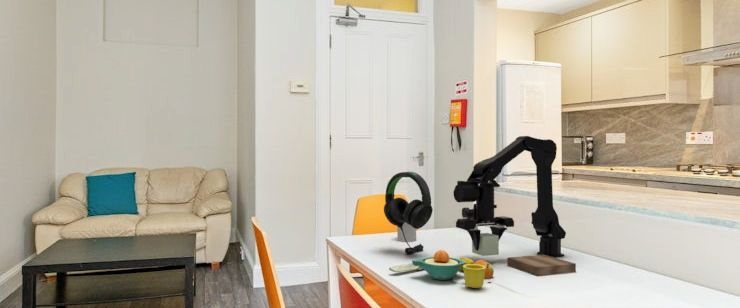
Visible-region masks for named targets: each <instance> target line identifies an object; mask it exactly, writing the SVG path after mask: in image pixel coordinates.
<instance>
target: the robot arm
mask: <svg viewBox="0 0 740 308" xmlns="http://www.w3.org/2000/svg"><path fill="white" fill-rule="evenodd" d="M557 148H558V147H557V143H556V142H555V141H554V140H552V139H541V138H536V137H532V136H529V135H522V136H520V135H518V137H516V138H515V139H514V140H513V141H512V142H510V143H509V144H508V145H506V146H505V147H504V148H503V149H501V150H500V151H498V152H497V153H496V154H495V155H493V156H492V157H489V158H486V159H483V160H480V161H478V162H477V163H475V164H474V165H473V169H472V171H471V172H470V175H469V176H468V178H467V180H457V181H456V183H457V184H456V185H455V186H454V190H453V198H454V200H455V202H457V203H473V208H472V209H470V208H469V207H462V208H461V217H462V218H458V219H457V220H456V221H455V227H456V229H457V228H458V229H461V230H464V231H466V232H467V233H468V234H469V236H470V238H471V242H472V241H473V244H474V247H475V250H478V249H479V242H480V233H481V231H482V230H480V229H479V228H478V227H483V226H484V227H485V226H486V227H487V226H489V229H490V231H491V234H494V235H497V236H499V241H500V239H501V238H502V236H503V234H504V233H505V231H507V230H508V228H513V227H515V220H514V219H513V217H509V216H504V215H503V216H495V209H497V208H498V205H497V204H495V188H500V187H501V185H500V184H499V182H497V181H496V178H497V177H498V176H499V175H500V174H501V173H502V171H503V168H504V167H505V166H506V165H507V164H509V163H510V162H511V161H512V160H514V159H515V158H516V157H518V156H519V155H520V154H522V153H523V152H525V151H527V152H529V153H530V156H531V159H532V161H533V162H534V164H535V167H536V169H535V170H536V195H537V198H536V199H537V207H536V209H535V211H534V212H533V211H532V212H531V215H530V216H531V223H530V224H532V227H533V229H534V230H535V234H536V236H537V237H539V236H540V237H539V242H538V243H539V245H538V246H539V248H538V250H539V251H537V252H536V255H547V256H550V257H554V258H556V257H563V256H565V254H564V253H562V240H563V239H565V238H566V234H567V232H566V231H565V229H564V228H563V227H562V225H560V219H559V216H558V214H557V211H556V210H555V208H554V200H553V199H554V197H553V195H554V194H553V172H552V171H553V170H552V166H553V164H554V161H555V160H556V158H557V150H558V149H557ZM474 202H475V203H474Z"/></svg>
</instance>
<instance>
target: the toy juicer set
mask: <svg viewBox="0 0 740 308" xmlns="http://www.w3.org/2000/svg"><path fill="white" fill-rule="evenodd" d="M388 270H389V271H390V272H392V273H401V272H408V271H413V270H414V271H415V270H416V271H417V270H418V271H420V270H424V271H425V272H426V274H428V275H429V276H430V277H431V278H432V279H434V280H442V281H443V280H444V281H445V280H451V279H452V278H453V277H454V276H455V275H457V273H458V272H459V271H460V272H463V276H464V281H465V282H464V283H465V284H464V285H465V286H466V287H468V288H472V289H473V288H474V289H476V288H477V289H478V288H482V287H483V286H484V281H485V279H487V280H488V279H491V278H492V277H493V276H494V272H495V271H494V270H495V269H494V267H493V265H491V263H489V262H488V261H485V260H482V259H479V260H476V261H475V262H474V261H473V260H472V258H468V257H467V258H466V257H464V256H461V257H459V258H455V257H451V256H449V254H448V252H447V251H446V250H443V249H442V250H437V251H435V252H434V254H433V256H428V257H427V256H426V257H423V258H413V259H412V260H411V263H407V264H405V263H404V264H400V265H393V266H392V265H391V266H389V268H388Z"/></svg>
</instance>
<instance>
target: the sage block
mask: <svg viewBox="0 0 740 308" xmlns="http://www.w3.org/2000/svg"><path fill="white" fill-rule="evenodd" d="M499 241H500V240H499V236H497V235H494V234H492V233H489V232H480V242H479V249H478V250H475V247H474V244H473V241H472V240H471V253H473V254H476V255H479V256H481V257H486V256H488V257H489V256H497V255H499V253H500V251H499V249H500V248H499V247H500V245H499V243H500V242H499Z"/></svg>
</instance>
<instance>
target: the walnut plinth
mask: <svg viewBox="0 0 740 308" xmlns="http://www.w3.org/2000/svg"><path fill="white" fill-rule="evenodd" d="M506 262H507V263H506V265H507V266H508V267H510V268H513V269H516V270H518V271H522V272H524V273H528V274H530V275H533V276H535V277H541V276H542V277H543V276H550V275H553V276H554V275H559V274H561V275H562V274H568V273H569V274H571V273H576V270H577V268H576V267H577V264H576V263H574V262H571V261H568V260H564V259H562V258H561V259H560V258H558V257H557V258H556V257H550V256H547V255H541V254H534V255H532V254H531V255H523V256H512V257H507V258H506Z"/></svg>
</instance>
